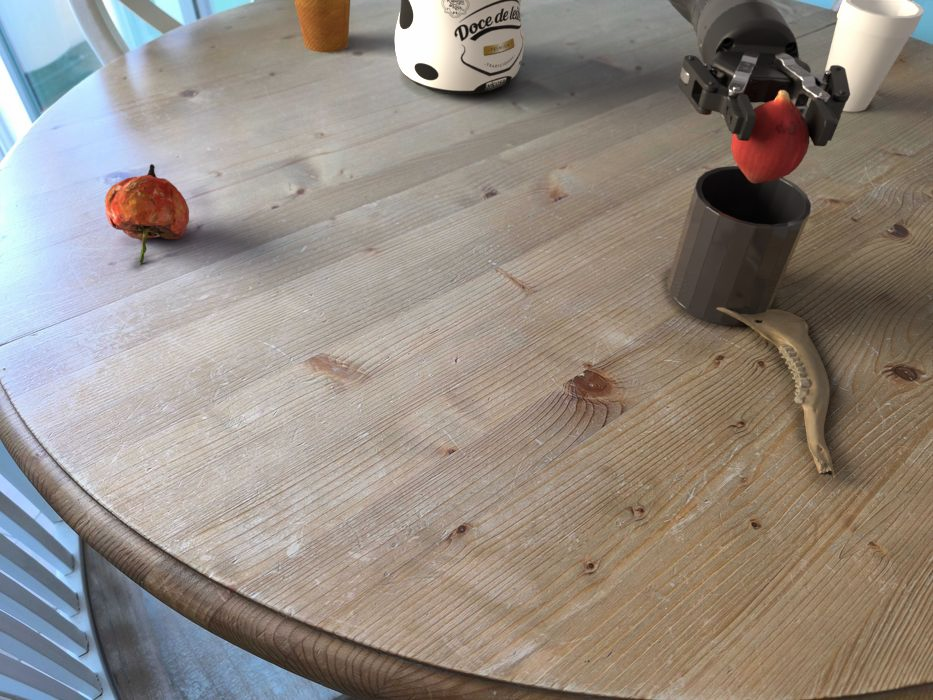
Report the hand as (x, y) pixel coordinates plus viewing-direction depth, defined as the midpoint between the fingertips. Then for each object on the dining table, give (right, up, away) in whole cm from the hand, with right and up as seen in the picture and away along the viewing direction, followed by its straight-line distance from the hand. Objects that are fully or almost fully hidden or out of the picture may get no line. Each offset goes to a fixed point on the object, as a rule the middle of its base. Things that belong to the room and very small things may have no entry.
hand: (786, 132), depth 57 cm
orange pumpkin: (-55, -6, +17) cm, 58 cm away
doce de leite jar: (-26, +21, +47) cm, 57 cm away
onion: (0, -3, +6) cm, 7 cm away
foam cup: (+27, +17, +46) cm, 56 cm away
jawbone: (0, -20, +6) cm, 20 cm away
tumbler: (0, -11, +14) cm, 18 cm away
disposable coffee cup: (-45, +28, +53) cm, 75 cm away
